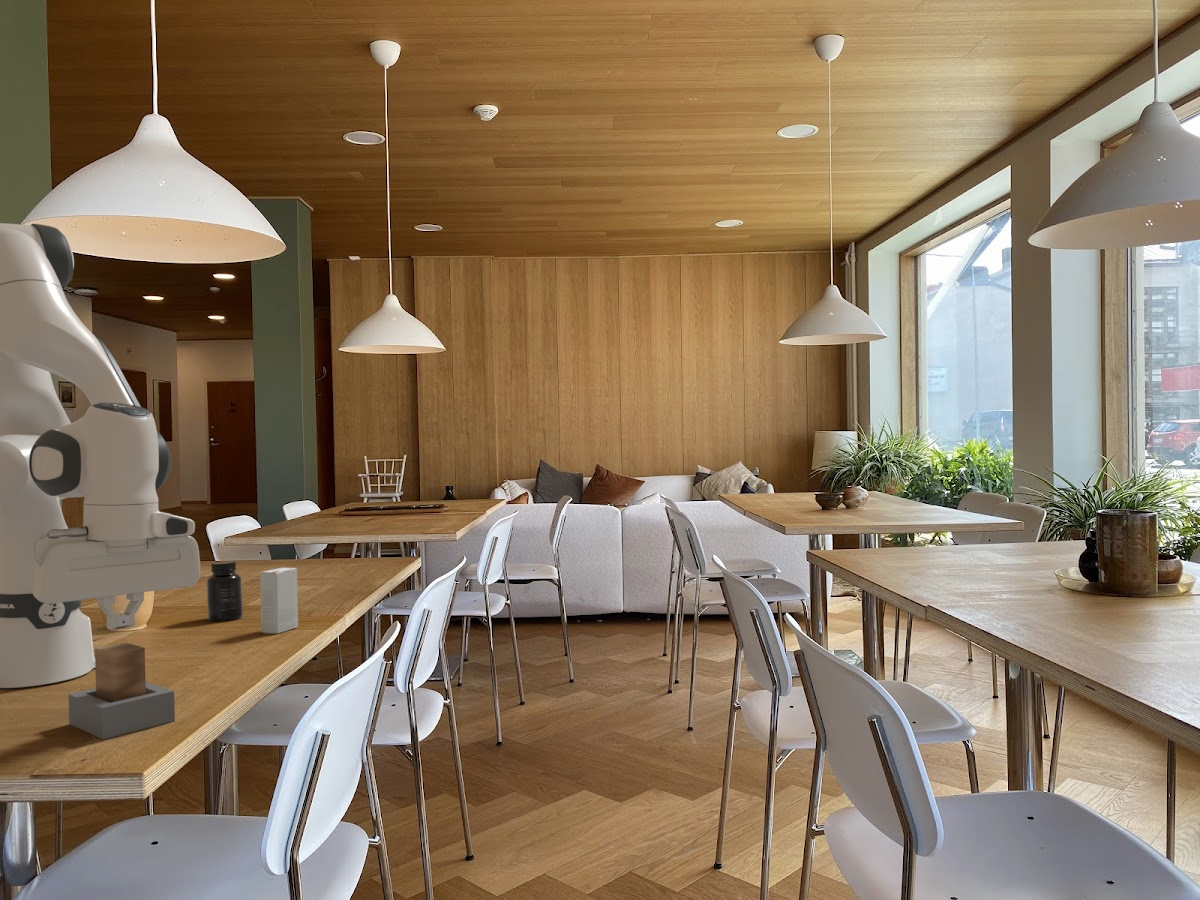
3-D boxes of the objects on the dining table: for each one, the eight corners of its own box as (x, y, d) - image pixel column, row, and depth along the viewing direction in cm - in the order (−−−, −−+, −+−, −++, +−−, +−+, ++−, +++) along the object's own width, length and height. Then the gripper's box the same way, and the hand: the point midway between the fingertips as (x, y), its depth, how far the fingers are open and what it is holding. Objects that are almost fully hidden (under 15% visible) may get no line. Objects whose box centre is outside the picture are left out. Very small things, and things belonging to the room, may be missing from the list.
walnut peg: (114, 730, 114) (112, 653, 114) (96, 722, 118) (94, 648, 117) (146, 722, 117) (144, 647, 117) (128, 715, 121) (126, 642, 121)
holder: (69, 724, 117) (68, 694, 117) (139, 707, 124) (138, 678, 124) (103, 739, 111) (102, 707, 111) (174, 720, 118) (174, 691, 118)
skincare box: (281, 626, 178) (280, 566, 178) (299, 628, 176) (298, 567, 176) (259, 633, 172) (258, 571, 172) (277, 634, 170) (276, 572, 170)
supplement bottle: (247, 615, 191) (246, 559, 191) (235, 621, 184) (234, 564, 184) (215, 615, 190) (214, 560, 190) (202, 622, 184) (200, 565, 183)
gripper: (44, 532, 108) (43, 645, 108) (206, 521, 124) (205, 619, 124) (24, 528, 111) (23, 637, 112) (183, 518, 128) (183, 613, 128)
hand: (120, 627), depth 118 cm, fingers closed
